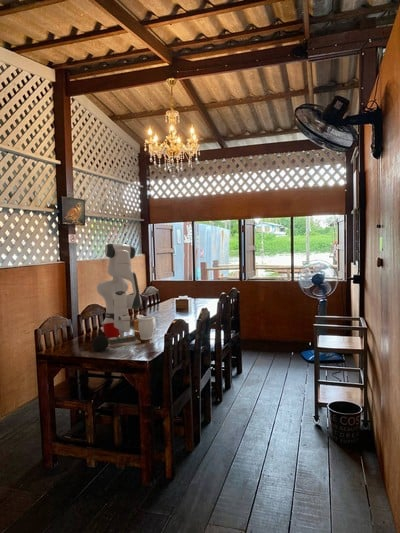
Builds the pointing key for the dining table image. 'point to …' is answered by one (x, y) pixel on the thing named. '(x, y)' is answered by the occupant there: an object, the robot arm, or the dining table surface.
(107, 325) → the ceramic cup
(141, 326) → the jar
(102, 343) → the speaker
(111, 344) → the button board
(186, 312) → the dining table surface
